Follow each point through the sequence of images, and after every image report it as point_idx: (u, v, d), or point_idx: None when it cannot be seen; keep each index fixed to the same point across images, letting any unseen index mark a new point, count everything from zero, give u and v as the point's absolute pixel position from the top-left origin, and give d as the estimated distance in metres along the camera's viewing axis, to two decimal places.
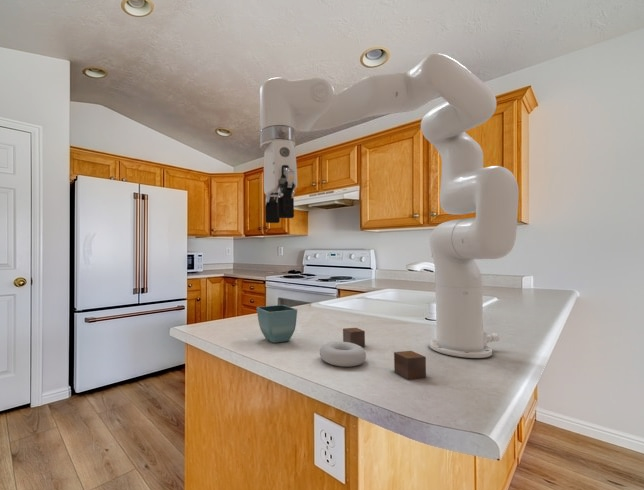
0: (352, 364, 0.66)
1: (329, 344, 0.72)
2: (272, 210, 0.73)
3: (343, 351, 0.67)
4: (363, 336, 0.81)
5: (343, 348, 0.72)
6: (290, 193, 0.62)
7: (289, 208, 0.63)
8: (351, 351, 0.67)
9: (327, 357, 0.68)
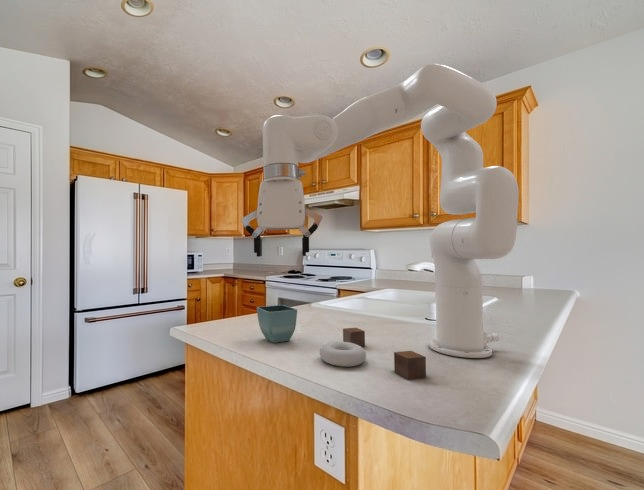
0: (352, 364, 0.66)
1: (329, 344, 0.72)
2: (260, 243, 0.69)
3: (343, 351, 0.67)
4: (363, 336, 0.81)
5: (343, 348, 0.72)
6: (311, 234, 0.68)
7: None
8: (351, 351, 0.67)
9: (327, 357, 0.68)
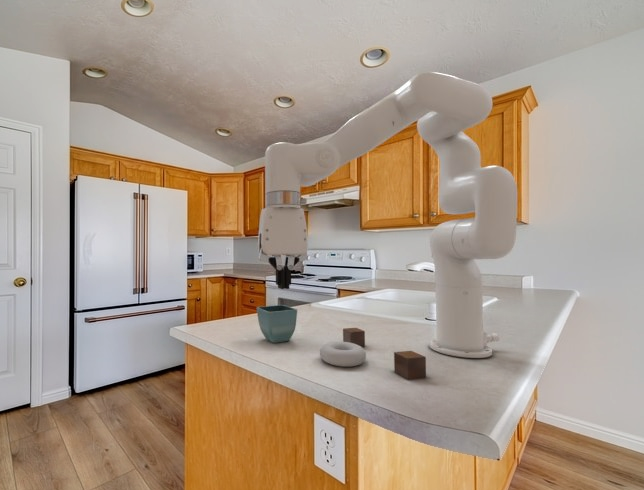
0: (352, 364, 0.66)
1: (329, 344, 0.72)
2: None
3: (343, 351, 0.67)
4: (363, 336, 0.81)
5: (343, 348, 0.72)
6: None
7: None
8: (351, 351, 0.67)
9: (327, 357, 0.68)
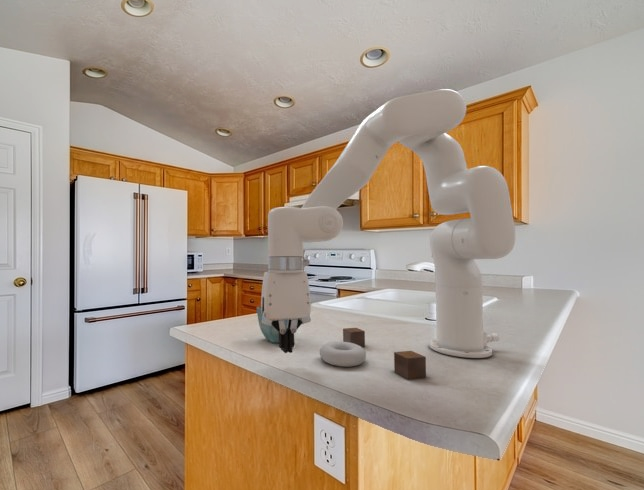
0: (352, 364, 0.66)
1: (329, 344, 0.72)
2: None
3: (343, 351, 0.67)
4: (363, 336, 0.81)
5: (343, 348, 0.72)
6: None
7: None
8: (351, 351, 0.67)
9: (327, 357, 0.68)
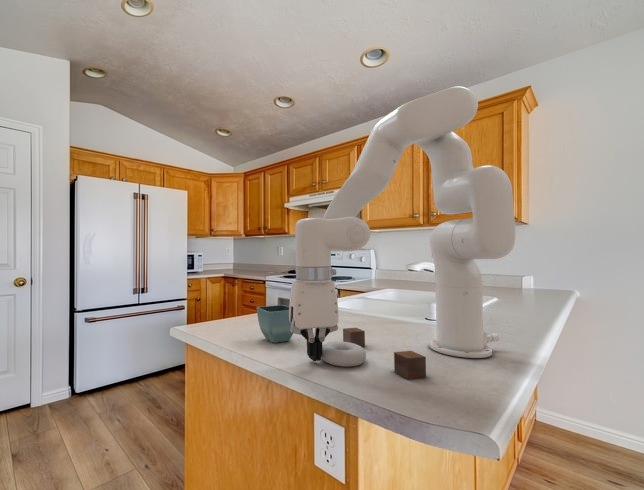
0: (352, 364, 0.66)
1: (329, 344, 0.72)
2: None
3: (343, 351, 0.67)
4: (363, 336, 0.81)
5: (343, 348, 0.72)
6: None
7: None
8: (351, 351, 0.67)
9: (327, 357, 0.68)
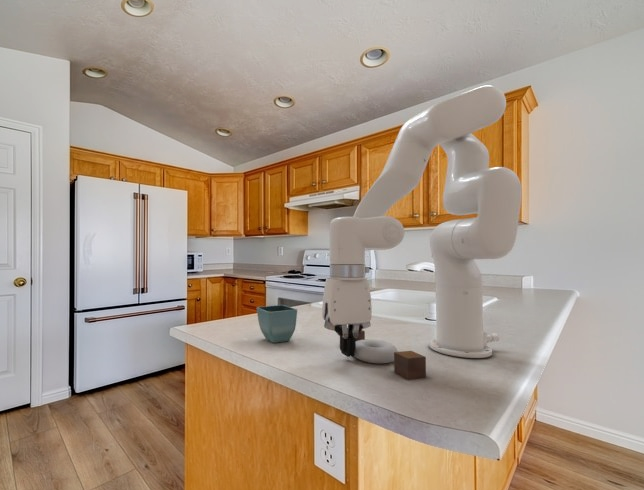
0: (385, 361, 0.68)
1: (360, 342, 0.74)
2: None
3: (376, 348, 0.69)
4: (363, 336, 0.81)
5: (374, 346, 0.74)
6: None
7: None
8: (384, 348, 0.69)
9: (360, 354, 0.69)
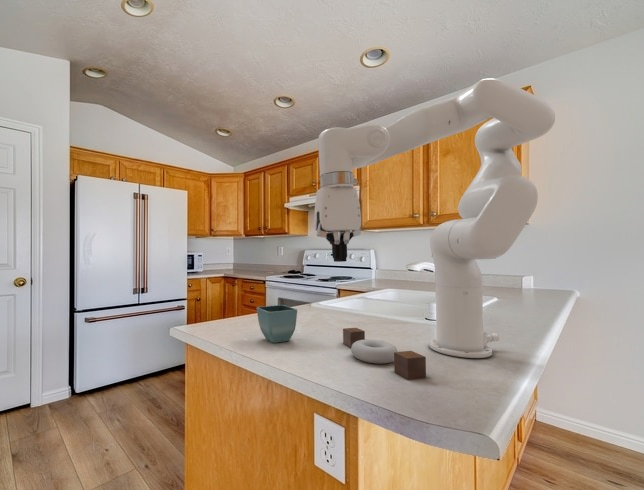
0: (385, 361, 0.68)
1: (360, 342, 0.74)
2: None
3: (376, 348, 0.69)
4: (363, 336, 0.81)
5: (374, 346, 0.74)
6: None
7: None
8: (384, 348, 0.69)
9: (360, 354, 0.69)
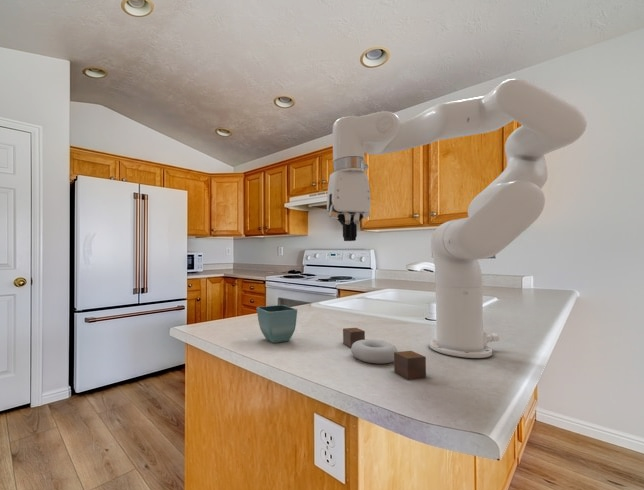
0: (385, 361, 0.68)
1: (360, 342, 0.74)
2: None
3: (376, 348, 0.69)
4: (363, 336, 0.81)
5: (374, 346, 0.74)
6: None
7: None
8: (384, 348, 0.69)
9: (360, 354, 0.69)
